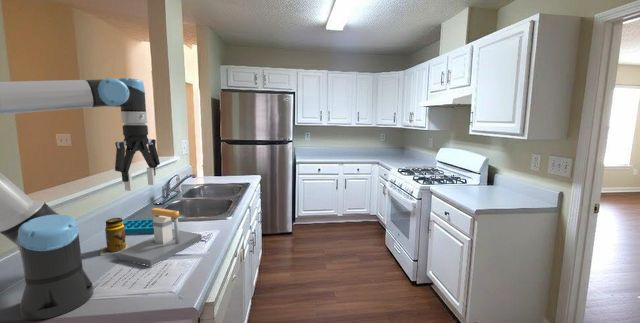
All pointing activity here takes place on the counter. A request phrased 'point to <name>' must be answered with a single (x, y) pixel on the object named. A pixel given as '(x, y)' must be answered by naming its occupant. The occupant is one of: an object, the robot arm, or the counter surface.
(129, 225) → the ice cube tray
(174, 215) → the clip
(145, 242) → the grey flat slab
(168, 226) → the white upright block
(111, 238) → the condiment
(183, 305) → the counter surface
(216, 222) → the counter surface
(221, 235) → the counter surface
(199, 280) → the counter surface
